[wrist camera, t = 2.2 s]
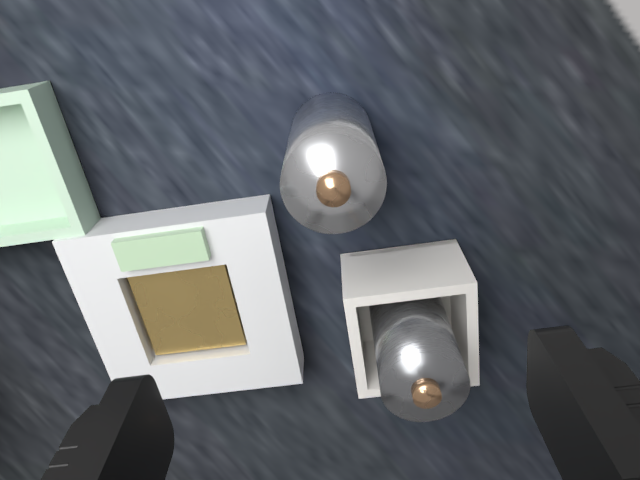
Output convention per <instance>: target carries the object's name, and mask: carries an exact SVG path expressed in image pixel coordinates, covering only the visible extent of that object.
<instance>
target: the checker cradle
mask: <svg viewBox="0 0 640 480" xmlns="http://www.w3.org/2000/svg"><path fill="white" fill-rule="evenodd" d="M52 244H53V246H54V248H55V251H56V253H57V255H58V258H59V260H60V262H61V265H62V267H63V269H64V272H65V274H66V276H67V279H68V281H69V283H70V285H71V288H72V290H73V292H74V295H75V297H76V299H77V302H78V304H79V306H80V309H81V311H82V313H83V316H84V318H85V320H86V323H87V325H88V327H89V330H90V332H91V334H92V337H93V339H94V341H95V344H96V346H97V348H98V351H99V353H100V355H101V358H102V360H103V362H104V365H105V367H106V369H107V372H108V374H109V376H110V379H111V381H112V380H114V379H115V378H122V377H131V376H139V375H147V374H149V375H151V376H152V377H153V378H154V379H155V382H156V384H157V387H158V389H159V392H160V394H161V397H162V399H170V398H179V397H188V396H197V395H205V394H214V393H223V392H232V391H241V390H250V389H258V388H267V387H276V386H285V385H294V384H303V369H304V354H303V349H302V344H301V340H300V335H299V330H298V325H297V321H296V316H295V311H294V306H293V302H292V297H291V292H290V287H289V283H288V278H287V273H286V268H285V264H284V259H283V254H282V249H281V245H280V240H279V235H278V230H277V226H276V221H275V216H274V211H273V207H272V202H271V197H270V194H268V195H261V196H254V197H247V198H240V199H233V200H226V201H218V202H211V203H204V204H197V205H190V206H183V207H176V208H169V209H162V210H155V211H148V212H140V213H133V214H126V215H119V216H112V217H105V218H101V219H100V220H99V221H98V222H97V223H96V224H95V225H94V226H93V227H92V228H91V230H90V231H89V232H88V233H87V234H86V235H84V236H76V237H69V238H62V239H55V240H53V241H52ZM225 264H226V265H227V269H228V272H229V276H230V280H231V284H232V287H233V291H234V295H235V298H236V302H237V306H238V310H239V313H240V317H241V321H242V325H243V328H244V332H245V336H246V340H247V341H246V345H238V346H229V347H221V348H213V349H204V350H196V351H188V352H179V353H171V354H163V355H156V354H155V351H154V348H153V345H152V343H151V340H150V337H149V335H148V332H147V329H146V327H145V324H144V321H143V318H142V316H141V313H140V310H139V308H138V305H137V302H136V300H135V297H134V294H133V291H132V289H131V286H130V283H129V281H128V278H127V277H134V276H142V275H150V274H157V273H165V272H172V271H180V270H187V269H195V268H203V267H210V266H218V265H225Z"/></svg>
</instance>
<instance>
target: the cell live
mask: <svg viewBox="0 0 640 480" xmlns="http://www.w3.org/2000/svg"><path fill="white" fill-rule="evenodd" d="M386 188H387V178H386V172H385V169H384V165H383V162H382V159H381V156H380V153H379V149H378V146H377V143H376V140H375V136H374V133H373V130H372V127H371V124H370V120H369V117H368V115H367V113H366V112H365V110H364V108H363V107H362V106H361V105H360V104H359V103H358V102H357V101H356V100H354V99H352V98H351V97H349V96H347V95H344V94H340V93H331V92H330V93H323V94H319V95H316V96H314V97H312V98H310V99H309V100H307V101H306V102H305V103H304V104H302V105H301V107H300V108H299V109H298V111H297V112H296V114H295V116H294V118H293V121H292V125H291V130H290V134H289V139H288V144H287V148H286V153H285V158H284V162H283V167H282V172H281V177H280V191H281V196H282V200H283V202H284V204H285V206H286V208H287V210H288V211H289V213H290V214H291V215H292V216H293V217H294V218H295V219H296V220H297V221H298V222H299V223H300V224H302V225H303V226H305V227H307V228H309V229H311V230H314V231H317V232H320V233H326V234H340V233H345V232H349V231H352V230H355V229H357V228H359V227H361V226H363V225H364V224H366V223H367V222H368V221H369V220H371V219H372V218H373V217H374V215H375V214H376V213H377V212H378V210H379V209H380V207H381V205H382V203H383V201H384V198H385V194H386Z"/></svg>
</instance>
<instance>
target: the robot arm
mask: <svg viewBox="0 0 640 480" xmlns="http://www.w3.org/2000/svg"><path fill="white" fill-rule="evenodd" d="M526 388H527V397H528V402H529V406H530V409H531V413H532V415H533V418H534V420H535V422H536V424H537V426H538V428H539V430H540V433H541V435H542V437H543V439H544V441H545V443H546V445H547V447H548V449H549V452H550V454H551V456H552V458H553V460H554V462H555V464H556V466H557V469H558V471H559V473H560V475H561V477H562V479H563V480H640V381H639V380H638V378H637V377H636V376H635V375H634V373H633V372H632V371H631V369H630V368H629V367H628V366H627V364H626V363H624V362H623V361H621V360H620V359H618V358H617V357H615V356H614V355H612V354H611V353H609V352H608V351H606V350H605V349H603V348H594V349H586V347H585V346H584V344H583V343H582V341H581V340H580V339H579V337H578V336H577V334H576V333H575V331H574V330H573V329H572V328H571V327H570V326H559V327H550V328H542V329H534V330H530V331H529V334H528V349H527V383H526ZM173 450H174V431H173V426H172V423H171V420H170V418H169V415H168V413H167V410H166V407H165V405H164V402H163V400H162V397H161V394H160V392H159V389H158V387H157V384H156V382H155V379H154V378H153V377H152V376H151V375H149V374H147V375H139V376H131V377H122V378H115V379H114V380H112V381H111V383H110V384H109V386H108V388H107V390H106V392H105V394H104V396H103V398H102V400H101V402H100V404H99V405H91V406H90V407H89V408H88V409H87V410H86V411H85V412H84V413H83V414H82V415H81V416H80V417H79V418H78V419H77V420H76V421H75V422H74V423H73V424H72V425H71V426H70V428H69V430H68V432H67V434H66V435H65V437H64V439H63V441H62V443H61V444H60V446H59V451H57V452H56V453H55V455H54V457H53V459H52V460H51V462H50V464H49V469H46V471H45V473H44V475H43V477H42V478H41V480H165V477H166V474H167V471H168V468H169V464H170V461H171V458H172V455H173Z"/></svg>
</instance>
